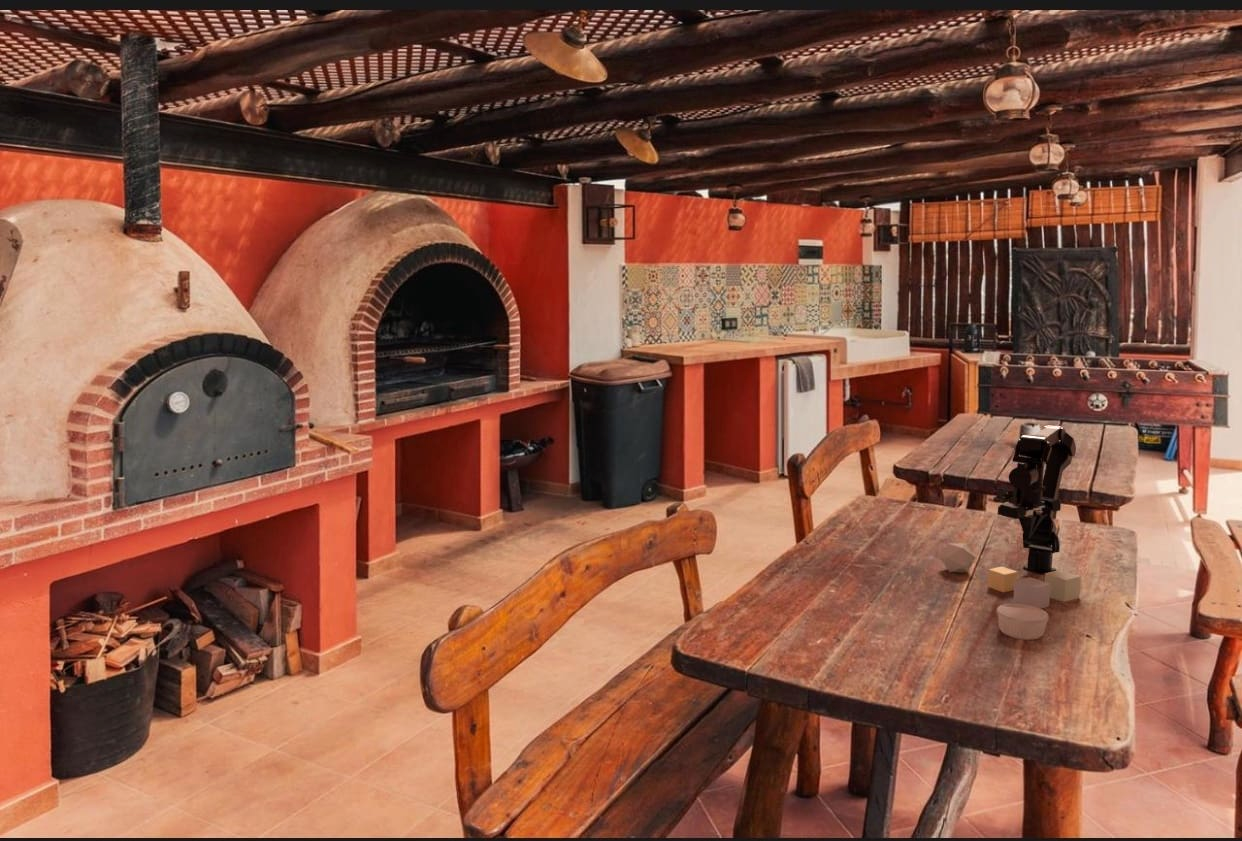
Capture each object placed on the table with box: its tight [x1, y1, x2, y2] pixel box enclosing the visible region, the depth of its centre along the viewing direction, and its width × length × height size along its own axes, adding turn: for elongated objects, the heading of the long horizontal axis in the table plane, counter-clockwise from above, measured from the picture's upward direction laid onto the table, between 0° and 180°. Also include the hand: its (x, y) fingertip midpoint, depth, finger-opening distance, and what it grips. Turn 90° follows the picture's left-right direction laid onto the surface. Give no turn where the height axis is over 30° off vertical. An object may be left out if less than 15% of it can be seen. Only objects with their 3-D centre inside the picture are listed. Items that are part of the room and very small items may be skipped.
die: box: [940, 542, 976, 573], centre depth 258 cm, size 8×9×10 cm
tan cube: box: [1044, 569, 1082, 603], centre depth 237 cm, size 6×6×6 cm
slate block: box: [1012, 576, 1051, 610], centre depth 231 cm, size 6×6×6 cm
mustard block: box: [987, 566, 1018, 593], centre depth 244 cm, size 5×5×5 cm
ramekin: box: [996, 603, 1049, 641], centre depth 213 cm, size 11×11×5 cm
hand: (1027, 538), depth 246 cm, fingers closed
